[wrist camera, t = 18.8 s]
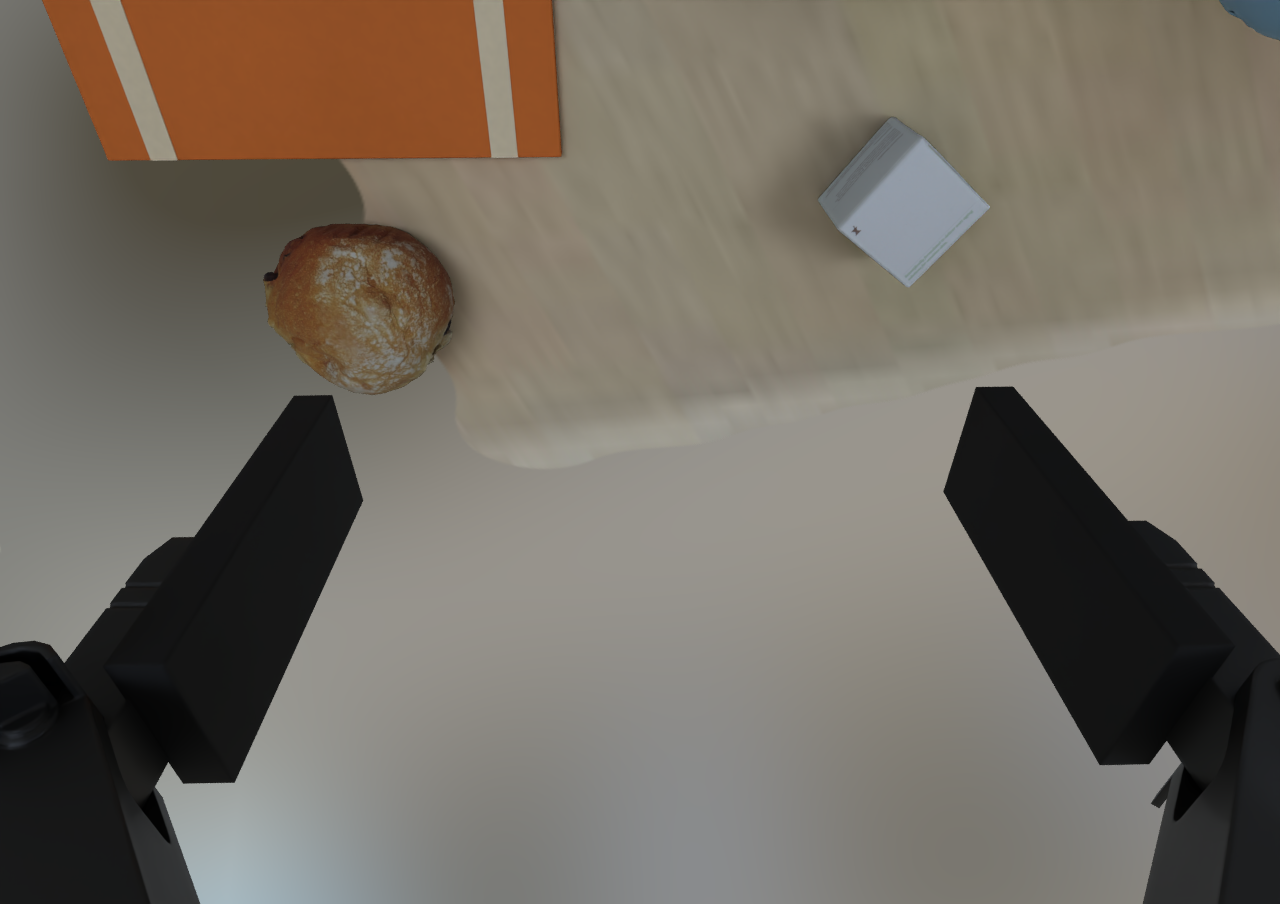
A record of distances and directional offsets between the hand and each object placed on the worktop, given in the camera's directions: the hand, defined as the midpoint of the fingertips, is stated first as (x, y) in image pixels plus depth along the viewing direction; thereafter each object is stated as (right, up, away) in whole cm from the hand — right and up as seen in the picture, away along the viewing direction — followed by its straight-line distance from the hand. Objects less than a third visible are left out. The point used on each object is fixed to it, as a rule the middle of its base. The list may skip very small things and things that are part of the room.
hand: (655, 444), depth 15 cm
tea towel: (-17, +21, +20) cm, 33 cm away
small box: (+13, +15, +25) cm, 32 cm away
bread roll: (-17, +9, +29) cm, 34 cm away
